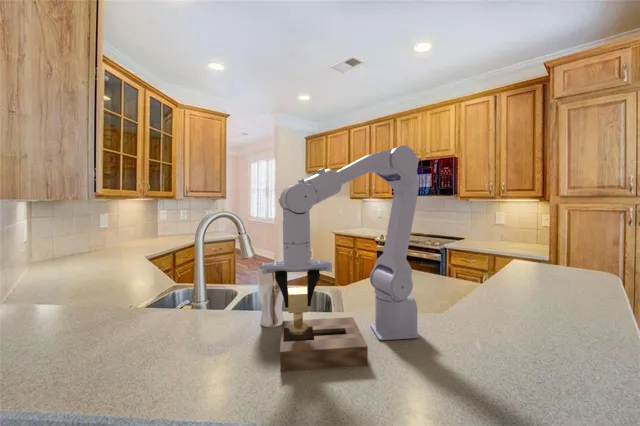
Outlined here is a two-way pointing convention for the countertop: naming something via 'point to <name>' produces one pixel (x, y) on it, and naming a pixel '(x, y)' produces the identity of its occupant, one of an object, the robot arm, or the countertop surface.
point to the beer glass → (270, 300)
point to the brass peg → (298, 309)
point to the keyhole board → (323, 345)
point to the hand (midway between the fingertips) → (298, 305)
